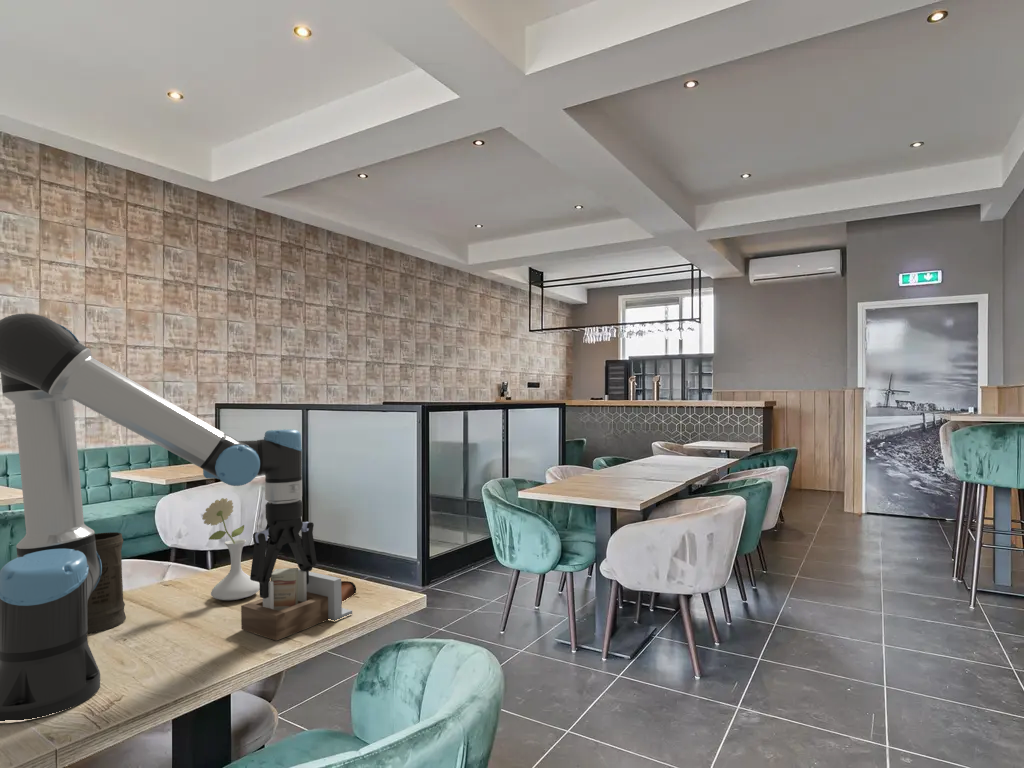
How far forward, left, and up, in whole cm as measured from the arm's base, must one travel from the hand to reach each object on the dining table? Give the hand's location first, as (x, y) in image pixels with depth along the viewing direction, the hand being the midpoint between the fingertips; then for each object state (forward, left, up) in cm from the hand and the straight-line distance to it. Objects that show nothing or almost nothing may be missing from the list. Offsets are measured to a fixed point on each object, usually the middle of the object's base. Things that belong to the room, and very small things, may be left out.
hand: (285, 606), depth 129 cm
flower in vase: (+5, +28, -4) cm, 29 cm away
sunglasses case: (+15, +9, -5) cm, 18 cm away
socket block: (0, 0, -4) cm, 4 cm away
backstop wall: (+9, 0, -4) cm, 10 cm away
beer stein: (-21, +40, -4) cm, 45 cm away
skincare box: (0, 0, -3) cm, 3 cm away
